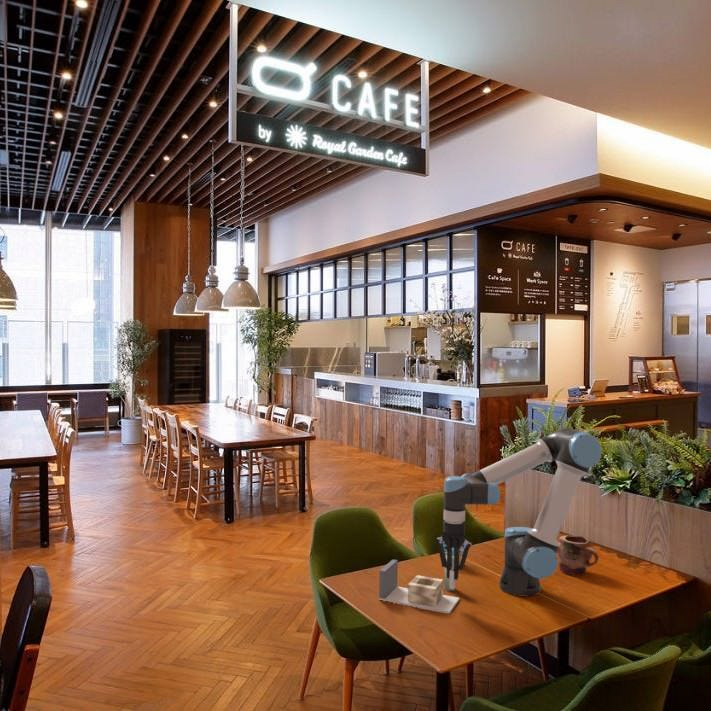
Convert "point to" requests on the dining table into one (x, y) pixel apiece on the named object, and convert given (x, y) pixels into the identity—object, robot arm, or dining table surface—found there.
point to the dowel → (448, 578)
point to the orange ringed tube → (453, 551)
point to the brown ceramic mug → (575, 554)
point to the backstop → (400, 594)
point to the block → (425, 590)
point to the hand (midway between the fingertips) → (452, 587)
